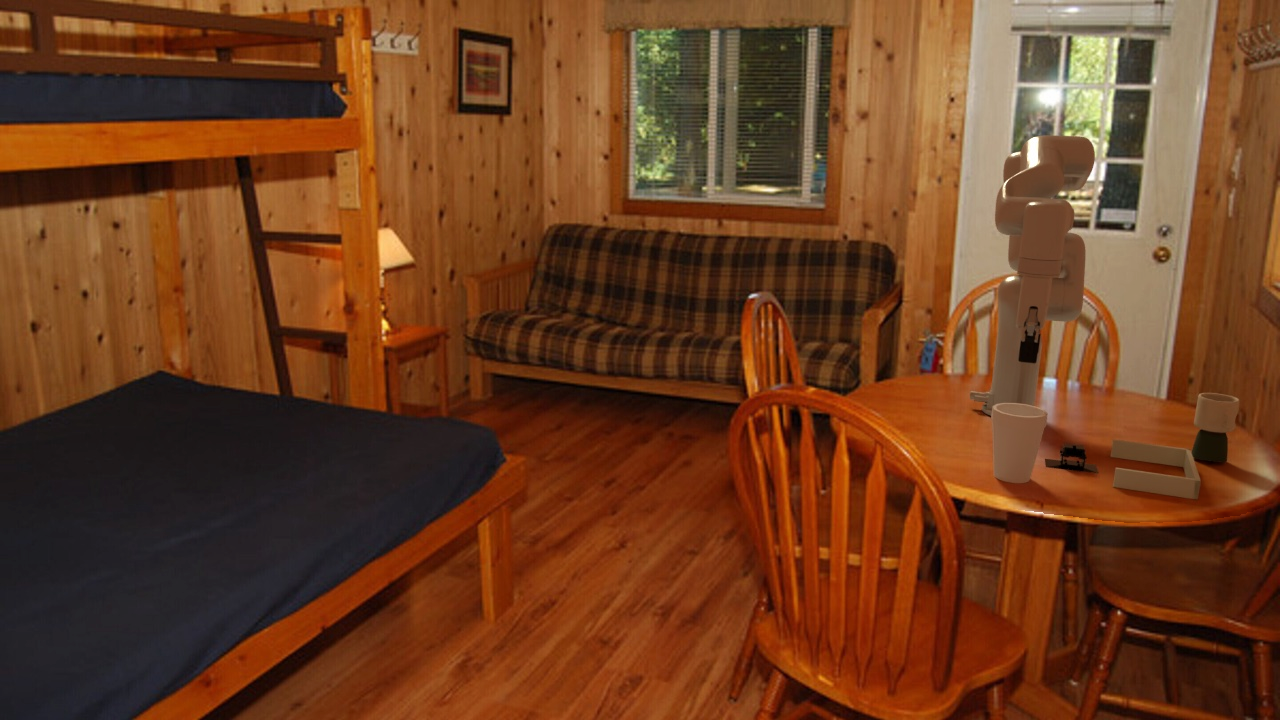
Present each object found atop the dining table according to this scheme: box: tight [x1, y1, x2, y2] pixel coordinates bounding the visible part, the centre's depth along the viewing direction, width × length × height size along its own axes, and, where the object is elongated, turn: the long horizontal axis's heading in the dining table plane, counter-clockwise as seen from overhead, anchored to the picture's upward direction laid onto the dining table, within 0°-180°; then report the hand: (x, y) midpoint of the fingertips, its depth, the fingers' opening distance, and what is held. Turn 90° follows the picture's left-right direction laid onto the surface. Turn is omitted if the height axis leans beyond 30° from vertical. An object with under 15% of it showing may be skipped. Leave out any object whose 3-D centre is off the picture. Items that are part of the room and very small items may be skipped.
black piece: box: [1044, 442, 1100, 474], centre depth 191 cm, size 12×7×5 cm, turn 71°
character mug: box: [1191, 392, 1240, 464], centre depth 195 cm, size 11×7×13 cm, turn 178°
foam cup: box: [990, 403, 1049, 484], centre depth 183 cm, size 10×9×13 cm
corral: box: [1110, 438, 1202, 500], centre depth 186 cm, size 14×20×4 cm
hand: (1028, 357), depth 191 cm, fingers open, 8 cm apart
